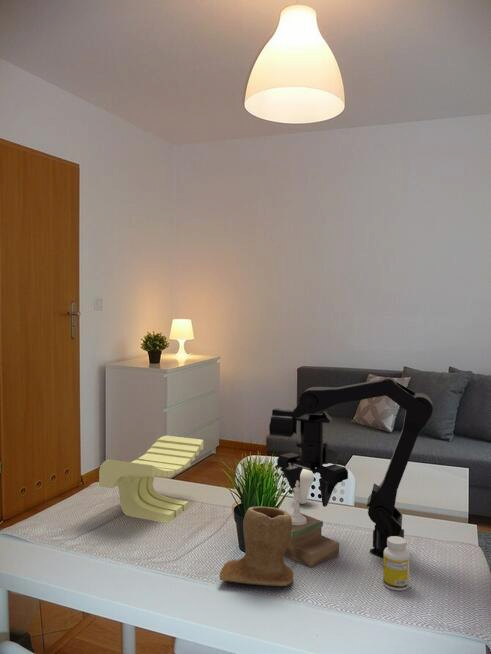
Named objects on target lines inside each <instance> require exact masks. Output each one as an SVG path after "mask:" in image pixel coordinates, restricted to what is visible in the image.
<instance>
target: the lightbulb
mask: <svg viewBox="0 0 491 654" xmlns="http://www.w3.org/2000/svg"><path fill="white" fill-rule="evenodd" d="M314 478H315V476H314V473H313V471H310V470H306V469H303V470H302V472H301V474H300V488H301V492H300V495H299V497H301V500H299V504H301V505H305V504H306V503H308V497H309V492H310V488H311V486H312V485H313V483H314V481H315V479H314Z"/></svg>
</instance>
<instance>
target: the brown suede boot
mask: <svg viewBox="0 0 491 654" xmlns="http://www.w3.org/2000/svg"><path fill="white" fill-rule="evenodd" d="M290 515H291V514H290V513H288V512H287V511H286V510H283V509H280V508H277V507H271V506H251V507H248V509H246V511H245V514H244V518H243V520H242V521H243V522H242V528H243V529H242V530H243V538H244V539H243V541H244V546H245V554H244V555H243V557H242V558H238V559H237V558H235V559H231V560H227V562H225V563H224V564H223V566H222V567H221V570H220V573H219V580H220V581H224V582H231V583H238V584H247V585H257V586H258V585H259V586H268V587H271V586H272V587H286V586H289V585H291V583H292V582H293V581H294V576H295V575H294V571H293V570H292V568H291V567H290V566H288V565H286V564H285V552H286V549H287V547H288V544H289V541H290V537H291V528H292V519H291V516H290Z"/></svg>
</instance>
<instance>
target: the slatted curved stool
mask: <svg viewBox="0 0 491 654" xmlns="http://www.w3.org/2000/svg"><path fill="white" fill-rule="evenodd" d="M202 450H204V439H201V438H200V439H198V438H193V437H192V438H191V437H190V438H189V437H182V436H176V435H175V436H172V435H163V436H161V437H159V438H157V439H156V440H155V442H154V443H153V444H151V446H150V447H149V449H147V451H146V452H145V453H144V454H143V455H142V456H139V457H138V458H137V459H134V460H133V461H131V462H130V461H122V460H117V459H115V460H114V459H107V460H104V461H103V462H102V463H101V464H100V467H99V472H98V473H99V474H98V476H99V478H98V480H99V481H98V487H102V488H108V489H114V488H116V487H117V488H118V494H119V505H120V508H121V511H122V513H123V514H124V515H126V516H127V517H132V518H136V519H137V518H138V519H142V520H144V519H145V520H148V521H154V522H155V521H156V522H160V523H167V524H168V523H170V522H171V521H172V520H174V519H175V518H176V517H178V516H179V515H181V514H182V513H183V512H185V511H186V510H187V509H189V508H191V507H190V504H189V501H185V500H180V499H176V498H172V497H167V496H165V495H162V494H160V493H159V492H157V491H156V490H155V488H154V486H153V485H154V480H155V478H166V479H168V478H171V477H172V476H175V475H176V474H178V473H180V472H181V471H183V470H184V469H187V468H188V467H190V466H191V462H193V461H196V460H195V459H196V456H199V455H200V451H202Z"/></svg>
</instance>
